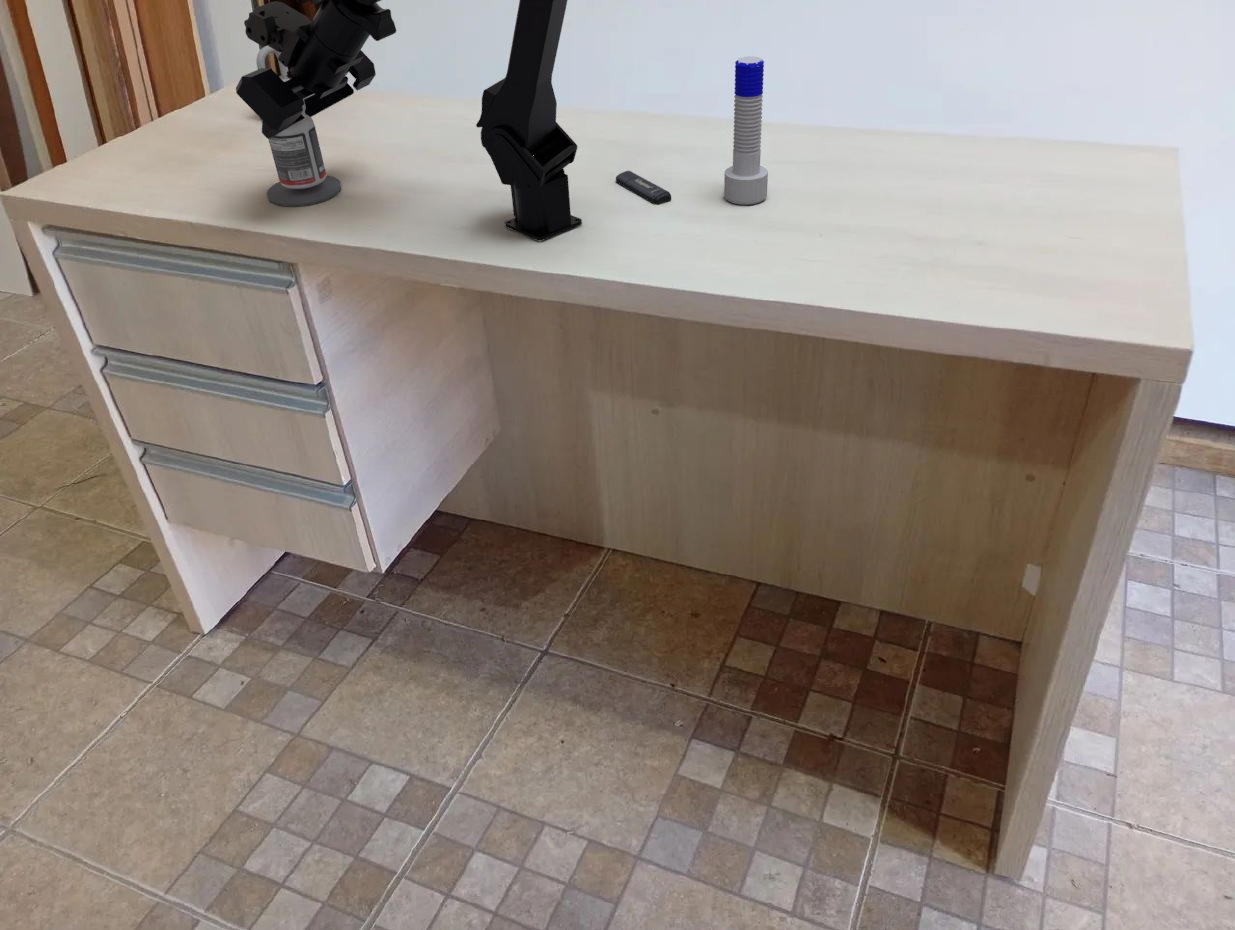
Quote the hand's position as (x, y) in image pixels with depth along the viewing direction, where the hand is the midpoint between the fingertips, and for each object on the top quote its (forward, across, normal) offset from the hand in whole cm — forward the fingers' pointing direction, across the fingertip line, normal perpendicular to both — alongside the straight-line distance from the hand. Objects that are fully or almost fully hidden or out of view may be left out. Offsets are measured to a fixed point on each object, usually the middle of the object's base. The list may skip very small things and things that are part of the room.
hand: (281, 127), depth 124 cm
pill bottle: (+4, 0, +6) cm, 7 cm away
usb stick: (-23, -13, +36) cm, 45 cm away
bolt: (-32, -14, +44) cm, 57 cm away
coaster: (+5, 0, +6) cm, 8 cm away
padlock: (+21, -25, -10) cm, 34 cm away
